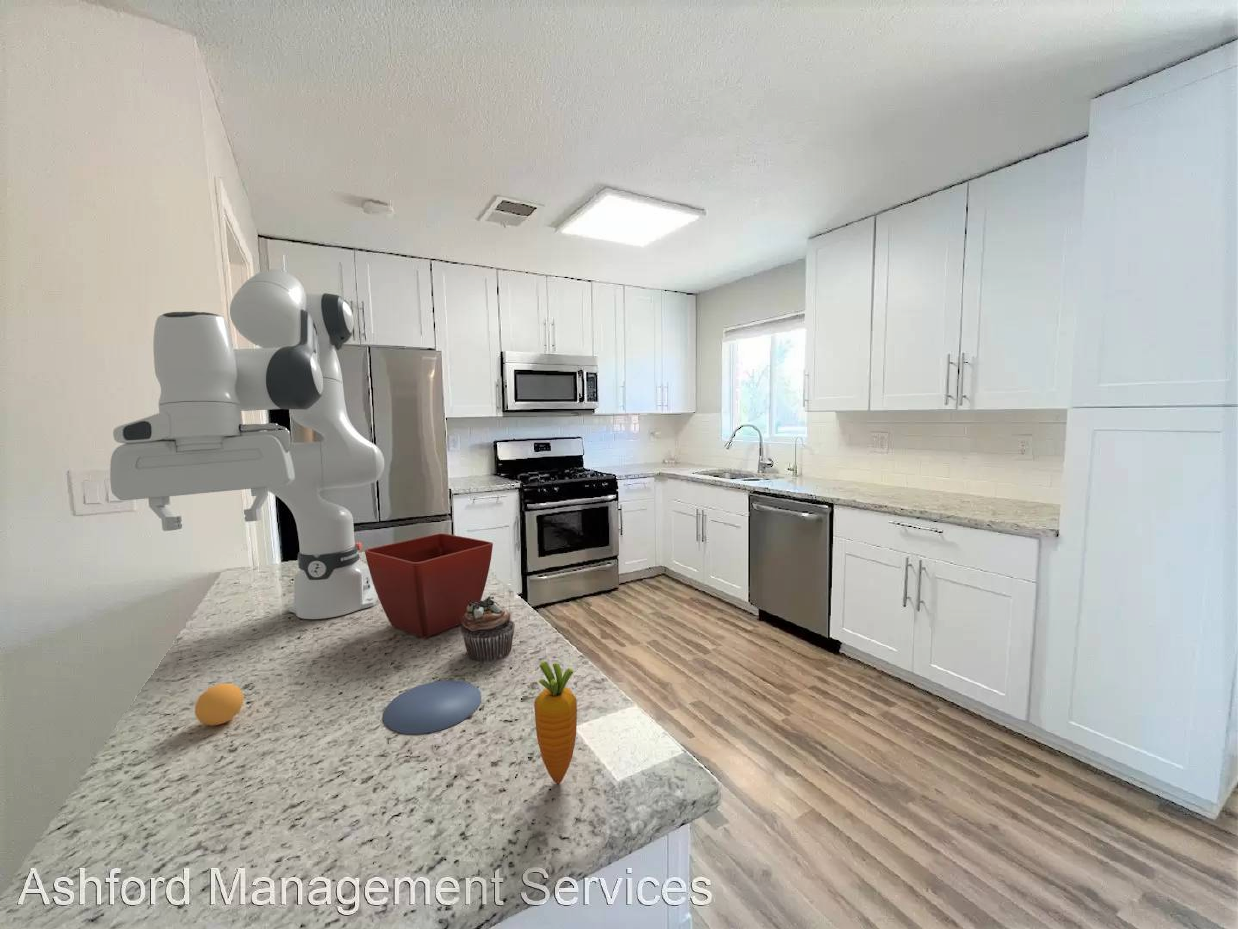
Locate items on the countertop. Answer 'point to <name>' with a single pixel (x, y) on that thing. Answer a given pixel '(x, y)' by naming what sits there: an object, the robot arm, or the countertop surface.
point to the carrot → (556, 721)
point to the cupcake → (487, 630)
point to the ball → (219, 704)
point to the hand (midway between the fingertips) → (213, 525)
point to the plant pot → (429, 580)
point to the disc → (432, 707)
